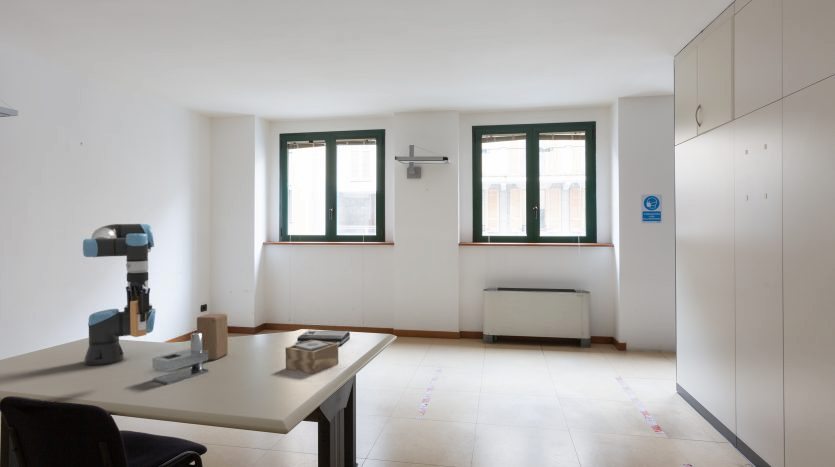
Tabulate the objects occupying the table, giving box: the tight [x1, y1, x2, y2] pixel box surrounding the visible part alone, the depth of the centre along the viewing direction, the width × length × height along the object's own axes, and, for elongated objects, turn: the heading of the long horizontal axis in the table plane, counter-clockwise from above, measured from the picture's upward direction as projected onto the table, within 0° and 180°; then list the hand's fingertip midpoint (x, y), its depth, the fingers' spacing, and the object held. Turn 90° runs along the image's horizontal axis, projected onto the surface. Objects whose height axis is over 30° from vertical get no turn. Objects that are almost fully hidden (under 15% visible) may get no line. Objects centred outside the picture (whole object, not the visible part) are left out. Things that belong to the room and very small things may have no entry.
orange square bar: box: [130, 301, 147, 338], centre depth 184 cm, size 4×4×14 cm
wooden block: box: [196, 313, 229, 361], centre depth 215 cm, size 10×10×20 cm
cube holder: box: [285, 340, 339, 375], centre depth 200 cm, size 16×16×9 cm
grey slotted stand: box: [151, 332, 209, 385], centre depth 188 cm, size 10×18×16 cm, turn 150°
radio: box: [294, 330, 351, 347], centre depth 241 cm, size 24×5×20 cm
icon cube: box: [296, 341, 329, 351], centre depth 198 cm, size 10×10×10 cm
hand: (138, 328), depth 184 cm, fingers closed on orange square bar, 4 cm apart
